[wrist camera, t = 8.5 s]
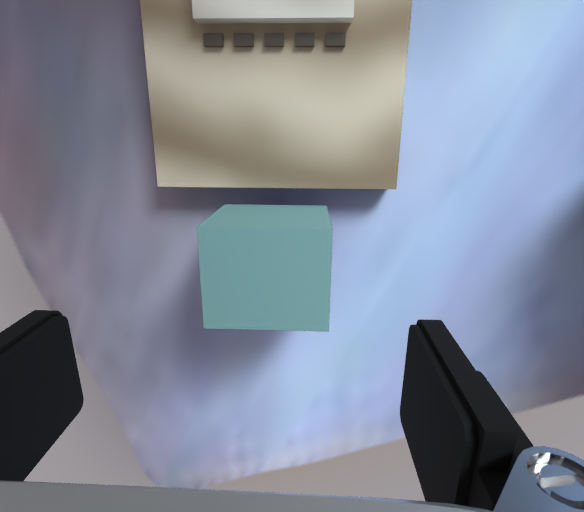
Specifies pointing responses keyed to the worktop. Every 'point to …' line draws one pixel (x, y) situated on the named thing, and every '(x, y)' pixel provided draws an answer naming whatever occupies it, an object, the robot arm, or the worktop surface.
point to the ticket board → (276, 91)
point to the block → (266, 267)
